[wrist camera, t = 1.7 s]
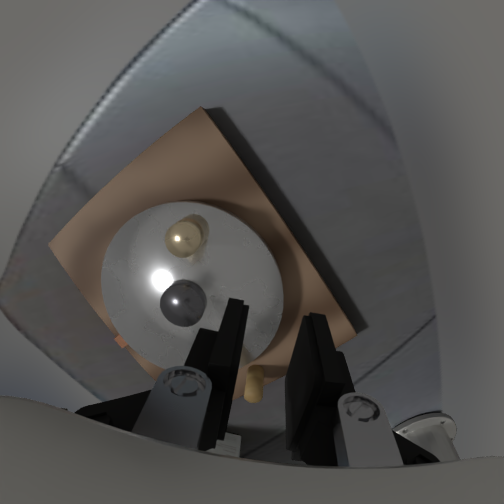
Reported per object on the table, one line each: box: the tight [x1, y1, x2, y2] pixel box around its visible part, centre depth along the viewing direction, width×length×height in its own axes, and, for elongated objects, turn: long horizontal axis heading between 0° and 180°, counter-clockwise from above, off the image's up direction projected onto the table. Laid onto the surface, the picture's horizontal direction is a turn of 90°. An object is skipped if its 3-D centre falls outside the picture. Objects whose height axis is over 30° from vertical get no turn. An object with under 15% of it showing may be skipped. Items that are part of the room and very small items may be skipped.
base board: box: [48, 106, 357, 403], centre depth 27 cm, size 24×20×5 cm
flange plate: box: [101, 200, 283, 369], centre depth 25 cm, size 16×17×5 cm
